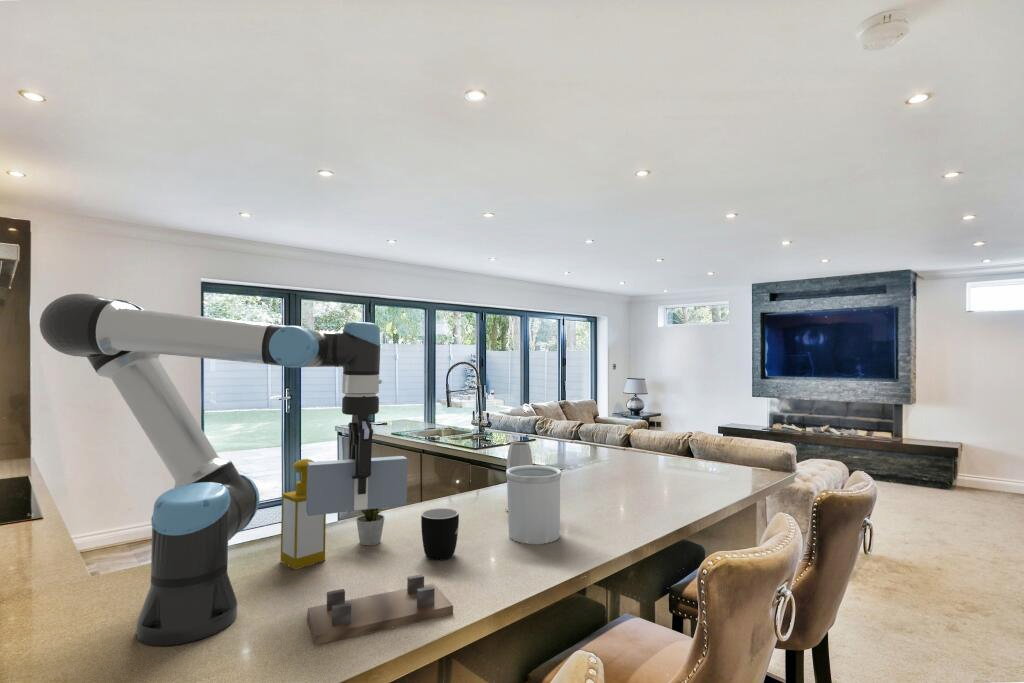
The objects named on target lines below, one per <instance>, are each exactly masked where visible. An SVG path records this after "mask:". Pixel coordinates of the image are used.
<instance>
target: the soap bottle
mask: <svg viewBox="0 0 1024 683" xmlns="http://www.w3.org/2000/svg"><path fill="white" fill-rule="evenodd" d="M308 462H315V461H314V460H312V459H310V458H302V459H299V460H297V461H296V462H294V463H293V464H292V465H291V466H292V467H293V468H295V472H296V473H298V474H299V473H300V481H299V480H298V481H297V482H296V483H295V490H294V491H293V490H292V491H289V492H282V493H281V495H282V496H281V522H280V523H281V525H280V526H281V528H280V562H281V561H282V562H284V563H285V564H284V563H283V564H284V565H286V564H287V565H286V566H288V565H289V566H290V568H291V567H292V568H291V569H293V568H294V569H295V570H297V568H299V569H301V568H300V567H302V568H304V567H303V566H306V567H308V566H307V565H309V566H311V565H310V564H313V563H316V562H320V561H323V560H325V561H326V530H327V529H326V528H327V526H326V524H327V520H326V519H327V516H326V515H327V514H322V515H313V516H308V515H307V513H306V496H307V465H308ZM282 562H281V563H282ZM323 562H324V561H323ZM320 563H321V562H320ZM316 564H317V563H316ZM313 565H314V564H313ZM289 566H288V567H289ZM294 569H293V570H294Z"/></svg>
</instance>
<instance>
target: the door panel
mask: <svg viewBox="0 0 1024 683" xmlns="http://www.w3.org/2000/svg"><path fill="white" fill-rule="evenodd" d="M408 459H409V458H407V457H406V456H405V455H397V456H396V455H395V456H394V455H393V456H384V457H383V456H380V457H371V476H369V477H368V508H367V509H376V508H379V509H380V508H381V509H383V508H384V509H385V508H392V507H403V506H407V504H408V500H407V499H408V498H407V495H408V463H409V460H408ZM355 474H356V461H355V459H349V458H347V459H338V460H337V459H336V460H323V461H322V460H318V461H314V462H308V465H307V496H306V513H307V515H308V516H313V515H322V514H326V515H330V514H338V513H339V514H340V513H346V512H347V513H348V512H349V511H351V512H356V511H358V512H359V510H353V508H354V479H352V476H355ZM367 509H363V510H367ZM349 513H350V512H349Z"/></svg>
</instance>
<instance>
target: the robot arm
mask: <svg viewBox="0 0 1024 683" xmlns="http://www.w3.org/2000/svg"><path fill="white" fill-rule="evenodd" d="M38 325H39V331H40V333H41V336H42V338H43V340H44V341H45V342H46V343H47V344H48V346H50V347H51V348H52V349H54V350H56V351H57V352H59V353H62V354H63V355H67V356H71V357H81V358H87V360H88V361H89V363H90V364H91V367H92V368H93V369H94V371H95V373H96V374H97V375H98V376H99V377H103V378H108V379H111V380H112V383H113V384H114V385H115V387H116V389H117V390H118V391H119V394H120V395H121V397H122V398H123V400H124V402H125V403H126V405H127V407H128V408H129V409H130V410H131V413H132V414H133V416H134V417H135V419H136V420H137V422H138V424H139V425H140V427H141V429H142V430H143V432H144V433H145V435H146V436H147V438H148V440H149V442H150V443H151V445H152V447H153V448H154V450H155V451H156V453H157V454H158V456H159V458H160V460H161V461H162V462H163V464H164V465H165V468H166V469H167V470H168V472H169V473H170V476H171V477H172V479H173V480H174V486H173V488H171V489H169V490H166V491H164V492H163V493H162V494H160V495H159V496H158V497H157V498H156V500H155V501H154V504H153V508H152V510H153V511H152V515H151V518H150V522H151V553H150V554H151V555H150V556H151V560H150V561H151V562H150V563H151V564H150V585H149V586H150V587H149V590H148V591H147V592H148V593H147V594H146V596H145V600H144V603H143V605H142V607H141V610H140V612H139V616H138V619H137V621H136V633H135V634H136V635H137V636H136V639H137V638H138V639H139V640H140V641H141V642H140V641H139V640H138V639H137V640H138V641H139V642H140V643H142V642H143V643H142V644H145V645H149V646H161V647H163V646H164V647H165V646H173V645H182V644H186V643H191V642H195V641H200V640H201V639H204V638H207V637H209V636H212V635H214V634H216V633H219V632H221V631H222V630H224V629H226V628H227V627H228V626H230V625H231V624H232V623H233V622H234V621H235V620H236V618H237V616H238V600H237V597H236V594H235V592H234V587H233V585H232V582H231V580H230V576H229V573H228V563H229V562H228V560H229V559H228V558H229V557H228V556H229V541H231V540H232V538H233V537H235V536H236V535H237V534H238V533H240V532H241V531H243V530H244V529H245V528H246V527H248V525H249V524H250V523H251V522H252V521H253V518H254V517H255V515H257V514H256V513H257V512H258V509H259V506H260V493H259V489H258V486H257V485H256V483H255V482H254V481H253V479H251V478H250V477H248V476H247V475H244V474H241V473H239V471H238V470H237V468H236V466H235V465H234V463H233V461H232V460H230V459H226V458H221V457H219V455H218V454H217V451H216V450H215V448H214V446H212V444H211V442H210V441H209V439H208V438H207V436H206V434H205V432H204V431H203V429H202V427H201V426H200V424H199V423H198V421H197V419H196V418H195V416H194V414H193V413H192V411H191V410H190V408H189V406H188V405H187V403H186V402H185V400H184V398H183V397H182V395H181V394H180V391H179V390H178V388H177V387H176V385H175V383H174V382H173V380H172V379H171V377H170V376H169V373H167V370H166V369H165V367H164V366H163V364H162V362H161V361H160V359H159V357H160V355H165V356H166V355H167V356H177V357H189V358H197V359H209V360H210V359H211V360H221V361H230V362H240V363H241V362H243V363H250V364H251V363H252V364H253V363H254V364H261V365H270V366H277V367H279V366H280V367H284V368H289V369H300V368H325V367H326V368H327V367H328V368H331V367H332V368H333V367H334V368H340V367H341V368H342V370H343V371H342V383H341V384H342V389H341V393H342V394H344V395H343V397H342V399H341V404H342V405H341V413H342V414H343V415H348V416H351V421H350V422H349V423H348V424H347V426H348V459H355V461H356V474H355V476H352V479H354V508H353V510H358V511H360V510H363V509H367V508H368V477H369V476H371V458H372V452H373V451H372V450H373V449H372V448H373V446H372V445H373V436H374V429H373V428H372V426H373V425H372V422H370V418H369V417H370V415H376V414H378V413H379V411H380V410H379V408H380V398H379V396H378V395H377V394H379V392H380V385H381V384H382V379H380V367H381V330H380V329H381V328H380V326H379V325H378V324H377V323H374V322H364V321H362V322H361V321H360V322H359V321H356V322H355V321H354V322H346V323H344V326H343V329H342V330H340V331H324V330H323V331H320V330H319V331H318V330H313V329H309V328H306V327H305V326H301V325H291V324H290V325H285V324H284V325H282V324H271V323H266V322H255V321H246V320H238V319H237V320H236V319H228V318H219V317H211V316H201V315H200V316H199V315H194V314H193V315H191V314H183V313H173V312H172V313H171V312H163V311H156V310H155V311H154V310H153V311H152V310H146V309H144V308H143V307H141V306H140V305H137V304H135V303H133V302H130V301H127V300H122V299H111V298H108V297H107V298H106V297H102V296H98V295H94V294H88V293H71V294H67V295H62V296H60V297H58V298H56V299H54V300H52V301H51V302H50V303H49V304H48V305H47V306H46V307H45V308H44V310H43V311H42V313H41V316H40V318H39V324H38ZM379 384H380V385H379Z"/></svg>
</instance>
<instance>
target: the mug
mask: <svg viewBox="0 0 1024 683" xmlns="http://www.w3.org/2000/svg"><path fill="white" fill-rule="evenodd" d="M420 517H421V518H420V519H421V520H420V524H421V538H422V545H423V546H422V547H423V552H424V554H425V556H426V558H427V559H429V560H431V561H439V560H440V561H446V560H448V559H451V558H452V557H453V556H454V555H455V552H456V548H457V542H458V536H459V524H460V520H459V518H460V514H459V511H457V509H453V508H443V507H441V508H439V507H438V508H430V509H427V510H424V511H423V512H422V513H421V516H420Z"/></svg>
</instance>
